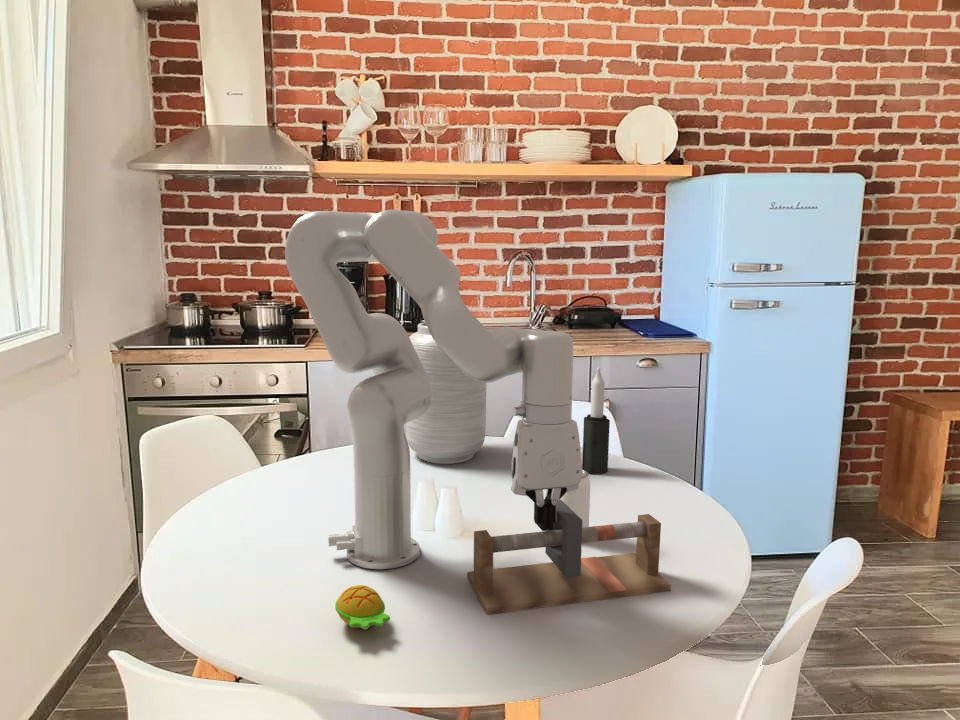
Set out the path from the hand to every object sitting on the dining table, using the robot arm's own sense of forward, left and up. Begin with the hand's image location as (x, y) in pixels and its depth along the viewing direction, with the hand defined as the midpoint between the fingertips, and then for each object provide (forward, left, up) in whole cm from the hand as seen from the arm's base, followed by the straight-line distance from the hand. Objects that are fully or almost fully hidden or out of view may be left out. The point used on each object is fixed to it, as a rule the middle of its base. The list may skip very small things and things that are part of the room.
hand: (544, 527), depth 112 cm
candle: (+32, +52, -10) cm, 62 cm away
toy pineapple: (-29, -5, -10) cm, 31 cm away
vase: (0, +72, -10) cm, 73 cm away
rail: (+4, 0, -10) cm, 11 cm away
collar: (+3, 0, -7) cm, 7 cm away
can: (+12, +18, -10) cm, 24 cm away
